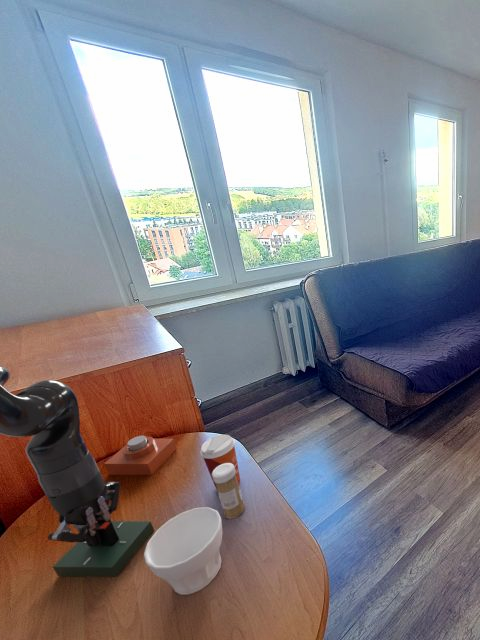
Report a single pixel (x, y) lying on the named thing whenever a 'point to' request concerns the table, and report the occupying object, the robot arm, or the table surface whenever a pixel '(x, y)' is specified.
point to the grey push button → (137, 443)
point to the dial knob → (107, 533)
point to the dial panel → (105, 552)
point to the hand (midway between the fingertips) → (102, 539)
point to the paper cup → (219, 453)
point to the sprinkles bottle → (228, 490)
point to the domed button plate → (141, 458)
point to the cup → (187, 550)
